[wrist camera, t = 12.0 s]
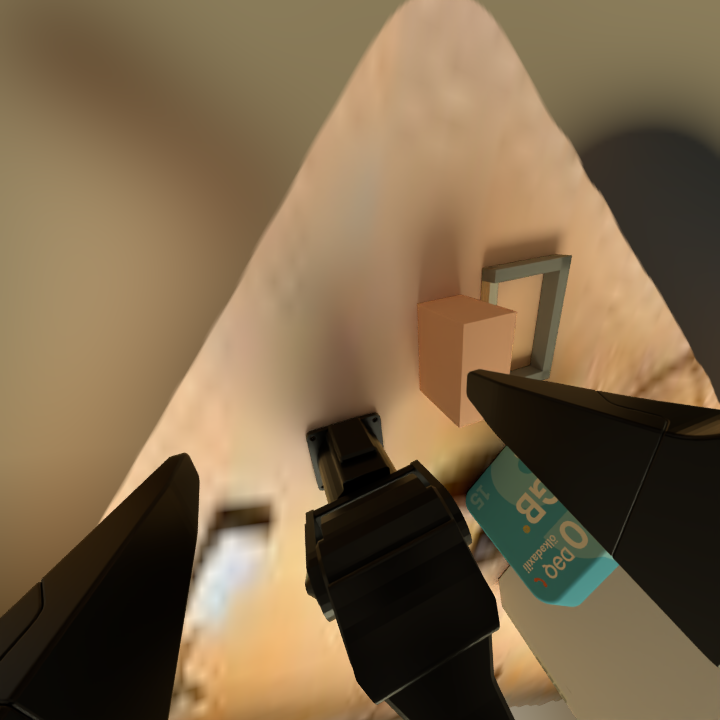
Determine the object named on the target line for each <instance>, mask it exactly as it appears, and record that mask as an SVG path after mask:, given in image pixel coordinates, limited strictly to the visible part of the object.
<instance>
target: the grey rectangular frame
mask: <svg viewBox="0 0 720 720" xmlns="http://www.w3.org/2000/svg"><path fill="white" fill-rule="evenodd" d="M571 258H572V255H559V254H555V255H549V256H544V257H539V258H533V259H528V260H523V261H518V262H512V263H507V264H502V265H497V266H491V267H486V268H483V271H482V287H481V301H484V302H487V303H490V304H493V305H497V295H498V284H499V283H500V282H504V281H509V280H514V279H519V278H524V277H529V276H533V275H538V274H543V273H544V277H543V283H542V290H541V297H540V303H539V310H538V317H537V323H536V330H535V336H534V343H533V350H532V356H531V363H530V366H527V367H523V368H520V369H516V370H513V371H510V375H515V376H521V377H526V378H531V379H537V380H544V379H548V378H549V376H550V371H551V366H552V360H553V355H554V349H555V344H556V339H557V333H558V328H559V323H560V317H561V312H562V307H563V301H564V296H565V290H566V285H567V280H568V274H569V269H570V264H571Z"/></svg>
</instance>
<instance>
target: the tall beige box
mask: <svg viewBox="0 0 720 720" xmlns="http://www.w3.org/2000/svg"><path fill="white" fill-rule="evenodd" d="M417 310H418V343H419V376H420V391H421V392H422V393H423V394H424V395H426V396H427V397H428V398H429V399H430V400H431V401H432V402H433V403H434V404H435V405H436V406H437V407H438V408H439V409H440V410H441V411H442V412H443V413H444V414H445V415H446V416H447V417H448V418H449V419H451V420H452V421H453V422H454V423H455V424H456V425H457V426H458V427H459V428H461V427H464V426H467V425H470V424H473V423H476V422H479V421H482V420H484V419H483V417H482V416H481V415H480V413H479V412H478V411H477V410H476V408H475V407H474V406H473V404H472V403H471V402H470V400H469V399H468V397H467V394H466V387H467V374H468V373H469V372H470V371H474V370H477V369H483V370H488V371H493V372H499V373H504V374H510V366H511V358H512V349H513V341H514V333H515V324H516V316H517V312H516V311H513V310H510V309H506V308H503V307H500V306H497V305H493V304H490V303H487V302H484V301H480V300H477V299H474V298H471V297H467V296H464V295H457V296H452V297H447V298H442V299H437V300H433V301H428V302H423V303H418V304H417Z"/></svg>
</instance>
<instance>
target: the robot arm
mask: <svg viewBox="0 0 720 720" xmlns="http://www.w3.org/2000/svg"><path fill="white" fill-rule="evenodd" d="M466 394H467V397H468V399H469V400H470V402H471V403H472V404H473V406H474V407H475V408H476V410H477V411H478V412H479V413H480V415H481V416H482V417H483V419H484V420H485V421H486V422H487V424H488V425H489V426H490V428H491V429H492V430H493V431H494V432H495V434H496V435H497V436H498V437H499V438H500V439H501V440H502V441H503V442H504V443H505V444H506V445H507V446H508V447H509V449H510V450H511V451H512V452H513V453H514V454H515V455H516V456H517V457H518V458H519V459H520V460H521V461H522V462H523V463H524V464H525V465H526V467H527V468H528V469H529V470H530V471H531V472H532V473H533V474H534V475H535V476H536V477H537V478H538V479H539V480H540V481H541V482H542V483H543V485H544V486H545V487H546V488H547V489H548V490H549V491H550V492H551V493H552V494H553V495H554V496H555V497H556V498H557V499H558V500H559V501H560V503H561V504H562V505H563V506H564V507H565V508H566V509H567V510H568V511H569V512H570V513H571V514H572V515H573V516H574V517H575V518H576V519H577V521H578V522H579V523H580V524H581V525H582V526H583V527H584V528H585V529H586V530H587V531H588V532H589V533H590V534H591V535H592V536H593V538H594V539H595V540H596V541H597V542H598V543H599V544H600V545H601V546H602V547H603V548H604V549H605V550H606V551H607V552H608V553H609V554H610V555H611V556H612V558H613V559H614V560H615V561H616V562H617V563H618V564H619V565H620V566H621V567H622V568H623V570H624V571H625V572H626V573H627V574H628V575H629V576H630V577H631V578H632V579H633V580H634V581H635V582H636V583H637V584H638V585H639V587H640V588H641V589H642V590H643V591H644V592H645V593H646V594H647V595H648V596H649V597H650V598H651V599H652V600H653V601H654V602H655V603H656V605H657V606H658V607H659V608H660V609H661V610H662V611H663V612H664V613H665V614H666V615H667V616H668V617H669V618H670V619H671V620H672V622H673V623H674V624H675V625H676V626H677V627H678V628H679V629H680V630H681V631H682V632H683V633H684V634H685V635H686V636H687V637H688V638H689V640H690V641H691V642H692V643H693V644H694V645H695V646H696V647H697V648H698V649H699V650H700V651H701V652H702V653H703V654H704V655H705V656H706V657H707V658H708V659H709V660H710V661H711V662H712V663H713V664H714V665H715V666H716V667H718V668H719V667H720V410H719V409H711V408H704V407H698V406H691V405H684V404H677V403H670V402H663V401H656V400H650V399H643V398H637V397H631V396H625V395H619V394H613V393H608V392H602V391H595V390H591V389H586V388H580V387H575V386H570V385H564V384H559V383H553V382H548V381H542V380H537V379H531V378H526V377H521V376H515V375H510V374H504V373H499V372H493V371H488V370H483V369H477V370H474V371H470V372H469V373H468V374H467V387H466ZM375 417H376V418H375ZM373 418H375V419H374V420H372V419H373ZM312 436H315V437H314V438H310V437H312ZM306 439H307V443H308V448H309V452H310V456H311V460H312V464H313V468H314V472H315V476H316V480H317V484H318V488H319V490H322V491H323V490H325V494H326V497H327V501H328V504H327V505H325V506H323V507H321V508H318V509H316V510H311V511H309V512H307V513H306V524H305V546H306V569H307V574H306V580H305V587H306V591H307V593H308V595H310V596H312V597H313V598H315V599H317V602H318V604H319V605H320V607H321V609H322V612H323V614H324V616H325V617H326V619H327V620H328V621H329V622H331V621H333V620H334V619H336V620H337V623H338V626H339V629H340V633H341V636H342V639H343V642H344V645H345V648H346V651H347V654H348V657H349V660H350V663H351V665H352V668H353V671H354V674H355V678H356V681H357V682H358V684H359V685H360V686H361V688H362V689H363V690H364V691H365V693H366V694H367V695H368V696H369V698H370V699H371V700H372V701H373V702H374V703H375V704H377V705H378V704H379V703H381V702H383V701H385V702H386V703H387V704H389V705H390V706H391V707H392V708H393V709H394V710H395V711H396V712H397V713H398V714H399V715H400V716H401V717H402V718H403V719H404V720H515V719H514V717H513V715H512V713H511V711H510V709H509V707H508V705H507V703H506V700H505V698H504V696H503V694H502V692H501V690H500V688H499V686H498V683H497V681H496V679H495V677H494V668H493V651H492V633H494V632H495V631H497V630H499V628H500V622H499V616H498V610H497V603H496V599H495V596H494V594H493V593H492V591H491V589H490V587H489V586H488V584H487V582H486V580H485V579H484V577H483V575H482V573H481V571H480V569H479V567H478V565H477V563H476V561H475V559H474V557H473V555H472V553H471V551H470V549H469V547H468V545H470V544H471V543H472V538H471V534H470V531H469V528H468V526H467V523H466V521H465V519H464V517H463V515H462V513H461V511H460V509H459V507H458V506H457V504H456V502H455V501H454V499H453V498H452V496H451V495H450V493H449V492H448V491H447V490H446V488H445V487H444V486H443V485H442V484H441V483H440V482H439V481H438V480H437V479H436V478H435V477H434V476H433V475H432V474H431V473H430V472H429V471H428V470H427V469H426V468H425V467H424V466H423V465H422V464H421V463H420V462H419V461H418V460H415V461H413V462H411V463H410V465H408V466H406V467H404V468H402V469H400V470H398V471H397V470H396V469H395V467H394V465H393V464H392V462H391V460H390V459H389V457H388V455H387V454H386V452H385V450H384V448H383V438H382V429H381V419H380V416H379V415H378V414H377V413H370V414H367V415H364V416H360V417H356V418H353V419H349V420H346V421H343V422H339V423H336V424H332V425H330V426H326V427H323V428H320V429H316V430H313V431H310V432H308V433H307V435H306ZM199 485H200V481H199V475H198V473H197V471H196V469H195V466H194V464H193V462H192V460H191V458H190V456H189V455H188V454H187V453H182V454H178V455H174V456H171V457H169V458H168V459H167V460H166V461H165V462H164V463H163V464H162V465H161V466H160V467H159V468H158V469H156V470H155V471H154V472H153V473H152V474H151V475H150V476H149V477H148V478H147V479H146V480H145V481H144V482H143V483H142V484H141V485H140V486H139V487H138V488H137V489H135V490H134V491H133V492H132V493H131V494H130V495H129V496H128V497H127V498H126V499H125V500H124V501H123V502H122V503H121V504H120V505H119V506H118V507H117V508H116V509H114V510H113V511H112V512H111V513H110V514H109V515H108V516H107V517H106V518H105V519H104V520H103V521H102V522H101V523H100V524H99V525H98V526H97V527H96V528H95V529H93V531H92V532H90V533H89V534H88V535H87V536H86V537H85V538H84V539H83V540H82V541H81V542H80V543H79V544H78V545H77V546H76V547H75V548H74V549H72V550H71V551H70V552H69V553H68V555H66V556H65V557H64V558H63V559H62V560H61V561H60V562H59V563H58V564H57V565H56V566H55V567H54V568H53V569H51V570H50V571H49V572H48V573H47V574H46V575H45V576H44V577H43V579H42V580H41V582H38V583H37V584H36V585H35V586H34V587H32V589H30V590H29V591H28V592H27V593H26V594H25V595H24V596H23V597H22V598H21V599H20V600H19V601H18V602H17V603H16V604H15V605H14V606H12V607H11V609H9V610H8V611H7V612H6V613H5V614H4V615H3V616H2V617H1V618H0V720H168V718H169V712H170V706H171V699H172V693H173V687H174V680H175V674H176V668H177V662H178V655H179V649H180V643H181V636H182V630H183V624H184V618H185V611H186V605H187V599H188V592H189V586H190V580H191V574H192V567H193V561H194V555H195V548H196V542H197V533H198V512H199Z"/></svg>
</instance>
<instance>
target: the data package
mask: <svg viewBox="0 0 720 720" xmlns="http://www.w3.org/2000/svg"><path fill="white" fill-rule="evenodd" d="M466 506H467V508H468V510H469V512H470V513H471V515H472V516H473V517H474V518H475V520H476V521H477V522H478V524H479V525H480V526H481V528H482V529H483V530H484V532H485V533H486V534H487V535H488V537H489V538H490V539H491V541H492V542H493V543H494V545H495V546H496V547H497V549H498V550H499V551H500V552H501V554H502V555H503V556H504V558H505V559H506V560H507V562H508V563H509V564H510V565H511V567H512V568H513V569H514V571H515V572H516V573H517V575H518V576H519V577H520V579H521V580H522V581H523V582H524V584H525V585H526V586H527V588H528V589H529V590H530V592H531V593H532V594H533V595H534V596H535V597H536V598H537V599H538V600H540V601H542V602H544V603H546V604H552V605H560V606H568V607H575V606H578V605H580V604H581V603H582V602H583V601H584V600H585V599H586V598H587V597H588V596H589V595H590V594H591V593H592V592H593V591H594V590H595V589H596V588H597V587H598V586H599V585H600V584H601V583H602V582H603V581H604V580H605V579H606V578H607V577H608V576H609V575H610V574H611V573H612V572H613V571H614V570H615V569H616V568H617V567H618V566H619V564H618V563H617V562H616V561H615V560H614V559H613V558H612V556H611V555H610V554H609V553H608V552H607V551H606V550H605V549H604V548H603V547H602V546H601V545H600V544H599V543H598V542H597V541H596V540H595V539H594V538H593V536H592V535H591V534H590V533H589V532H588V531H587V530H586V529H585V528H584V527H583V526H582V525H581V524H580V523H579V522H578V521H577V519H576V518H575V517H574V516H573V515H572V514H571V513H570V512H569V511H568V510H567V509H566V508H565V507H564V506H563V505H562V504H561V503H560V501H559V500H558V499H557V498H556V497H555V496H554V495H553V494H552V493H551V492H550V491H549V490H548V489H547V488H546V487H545V486H544V485H543V483H542V482H541V481H540V480H539V479H538V478H537V477H536V476H535V475H534V474H533V473H532V472H531V471H530V470H529V469H528V468H527V467H526V465H525V464H524V463H523V462H522V461H521V460H520V459H519V458H518V457H517V456H516V455H515V454H514V453H513V452H512V451H511V450H510V449H509V447H508V446H507V445H506V447H505V448H504V449H503V450H502V451H501V453H500V454H499V455H498V456H497V457H496V459H495V460H494V461H493V462H492V463H491V465H490V466H489V467H488V468H487V469H486V471H485V472H484V473H483V474H482V475H481V477H480V478H479V479H478V480H477V481H476V483H475V484H474V485H473V486H472V488H471V489H470V490H469V491H468V493H467V496H466Z"/></svg>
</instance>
